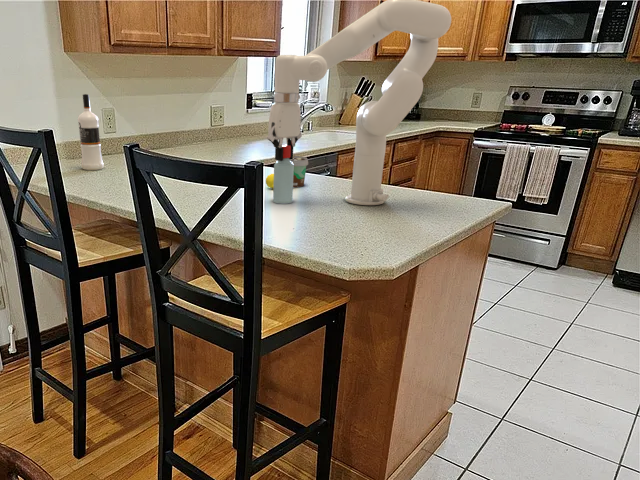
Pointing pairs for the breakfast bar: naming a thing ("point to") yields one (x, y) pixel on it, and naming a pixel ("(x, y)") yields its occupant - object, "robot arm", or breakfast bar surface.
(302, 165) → the food container
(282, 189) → the bottle
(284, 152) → the cap
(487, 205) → the breakfast bar surface
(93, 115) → the vodka
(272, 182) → the lemon
